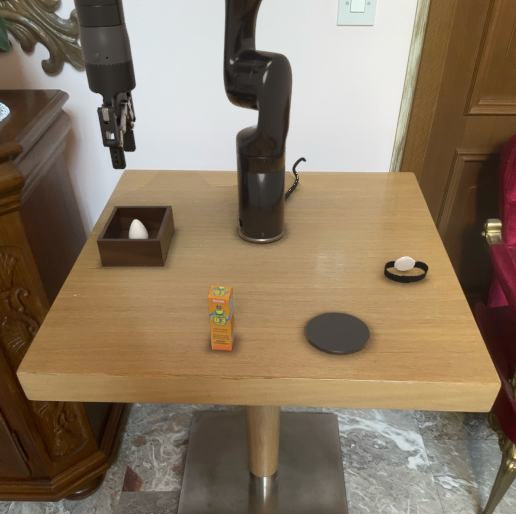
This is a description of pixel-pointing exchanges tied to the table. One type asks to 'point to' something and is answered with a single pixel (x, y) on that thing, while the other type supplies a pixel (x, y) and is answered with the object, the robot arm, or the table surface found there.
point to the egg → (137, 230)
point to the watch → (404, 265)
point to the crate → (136, 250)
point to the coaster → (337, 333)
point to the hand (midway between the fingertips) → (125, 159)
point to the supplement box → (221, 317)
